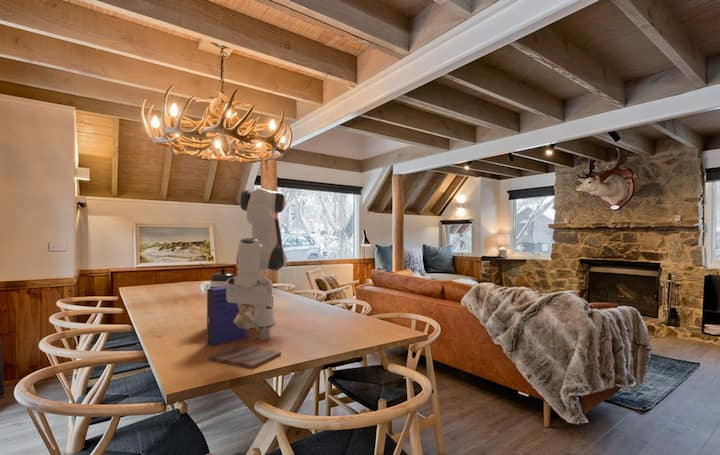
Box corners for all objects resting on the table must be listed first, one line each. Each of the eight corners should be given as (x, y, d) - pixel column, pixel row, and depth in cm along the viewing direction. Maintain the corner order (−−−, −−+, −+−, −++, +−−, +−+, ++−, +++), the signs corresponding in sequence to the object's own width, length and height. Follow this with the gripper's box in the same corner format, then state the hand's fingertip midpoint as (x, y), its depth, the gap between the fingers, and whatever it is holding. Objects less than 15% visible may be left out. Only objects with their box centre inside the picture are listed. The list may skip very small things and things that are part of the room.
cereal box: (242, 335, 173) (242, 284, 173) (248, 337, 170) (248, 285, 170) (206, 344, 160) (207, 288, 160) (212, 346, 157) (212, 289, 157)
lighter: (269, 338, 169) (269, 320, 169) (269, 339, 167) (269, 321, 167) (253, 339, 167) (253, 321, 167) (253, 340, 166) (253, 322, 166)
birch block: (248, 329, 140) (258, 311, 145) (242, 322, 137) (253, 304, 143) (239, 328, 142) (249, 310, 147) (233, 321, 139) (244, 303, 144)
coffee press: (198, 329, 184) (199, 269, 185) (219, 322, 200) (220, 266, 200) (228, 332, 179) (229, 270, 180) (247, 324, 195) (248, 267, 195)
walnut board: (207, 359, 140) (207, 356, 140) (237, 347, 155) (237, 344, 155) (253, 368, 131) (253, 365, 131) (280, 355, 146) (280, 351, 146)
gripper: (276, 280, 143) (275, 316, 142) (235, 277, 151) (234, 311, 151) (265, 282, 137) (265, 320, 137) (223, 279, 145) (223, 315, 145)
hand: (249, 315), depth 144 cm, fingers closed on birch block, 4 cm apart
